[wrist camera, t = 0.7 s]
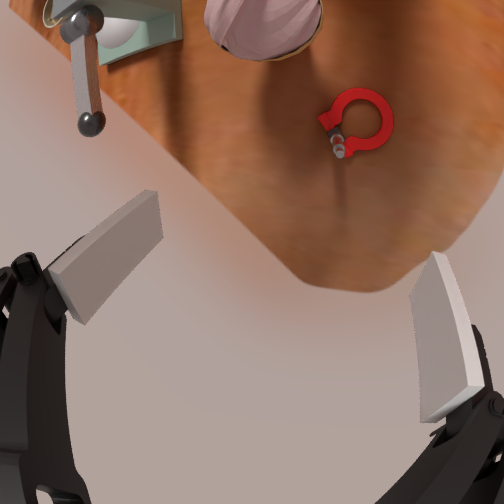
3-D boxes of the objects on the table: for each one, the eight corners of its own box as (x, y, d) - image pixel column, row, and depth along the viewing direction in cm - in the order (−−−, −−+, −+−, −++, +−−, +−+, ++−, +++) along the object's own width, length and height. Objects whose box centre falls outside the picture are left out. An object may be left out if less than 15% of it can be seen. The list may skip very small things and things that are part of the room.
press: (102, -1, 26) (15, -1, 11) (181, -36, 21) (92, -70, 6) (105, 65, 34) (13, 83, 19) (185, 38, 29) (84, 29, 14)
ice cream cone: (236, 58, 30) (143, 45, 14) (258, -8, 23) (182, -68, 8) (314, 80, 29) (288, 71, 14) (339, 12, 22) (335, -58, 7)
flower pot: (113, 0, 26) (77, -3, 19) (83, 34, 31) (48, 37, 24) (99, -23, 22) (65, -27, 16) (71, 10, 27) (38, 11, 20)
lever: (86, 16, 17) (59, 16, 14) (104, 5, 16) (77, 3, 13) (97, 133, 25) (72, 144, 22) (116, 129, 24) (89, 139, 21)
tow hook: (368, 77, 27) (312, 111, 32) (390, 69, 17) (305, 120, 21) (402, 130, 29) (348, 162, 34) (437, 151, 19) (357, 196, 24)
